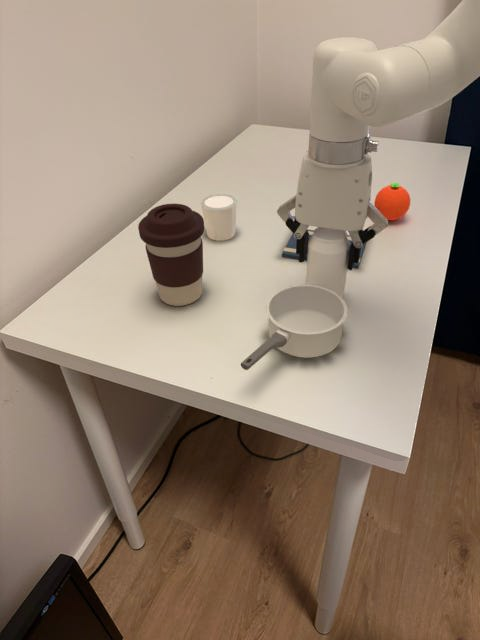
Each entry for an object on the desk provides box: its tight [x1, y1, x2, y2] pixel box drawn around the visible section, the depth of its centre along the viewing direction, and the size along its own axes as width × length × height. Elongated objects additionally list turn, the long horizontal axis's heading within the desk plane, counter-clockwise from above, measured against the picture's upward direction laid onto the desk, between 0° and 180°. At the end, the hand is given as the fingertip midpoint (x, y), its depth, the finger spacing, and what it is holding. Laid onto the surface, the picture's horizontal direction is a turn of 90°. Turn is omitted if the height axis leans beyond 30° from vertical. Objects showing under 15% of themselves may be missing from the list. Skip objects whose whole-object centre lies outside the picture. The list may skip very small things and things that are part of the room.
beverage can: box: [305, 227, 350, 299], centre depth 76 cm, size 6×6×12 cm
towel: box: [281, 228, 367, 270], centre depth 91 cm, size 14×10×1 cm
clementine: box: [373, 182, 411, 221], centre depth 97 cm, size 8×7×7 cm
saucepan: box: [240, 283, 348, 371], centre depth 68 cm, size 12×20×6 cm, turn 141°
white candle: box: [200, 193, 238, 242], centre depth 95 cm, size 7×7×7 cm
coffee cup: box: [137, 203, 206, 307], centre depth 77 cm, size 10×10×15 cm
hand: (327, 260), depth 75 cm, fingers open, 6 cm apart
